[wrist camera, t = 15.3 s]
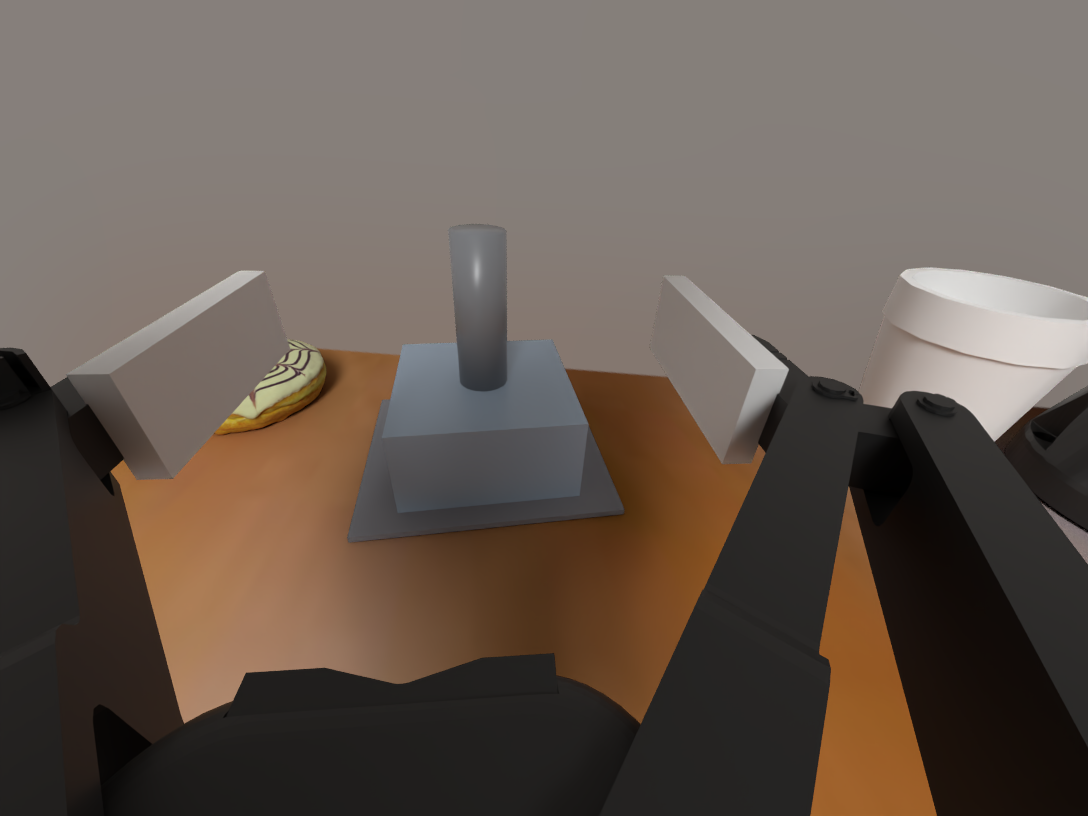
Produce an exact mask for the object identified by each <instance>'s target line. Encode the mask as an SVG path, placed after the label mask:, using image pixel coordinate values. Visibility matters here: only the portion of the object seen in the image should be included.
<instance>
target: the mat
mask: <svg viewBox="0 0 1088 816" xmlns="http://www.w3.org/2000/svg"><path fill="white" fill-rule="evenodd" d="M389 404H390V400H382V403H381V407H380V411H379V415H378V419H377V423H376V427H375V431H374V434H373V438H372V442H371V446H370V450H369V454H368V458H367V462H366V466H365V470H364V474H363V478H362V482H361V486H360V490H359V493H358V497H357V501H356V505H355V509H354V513H353V517H352V521H351V525H350V529H349V533H348V537H347V539H348V542H358V541H368V540H378V539H387V538H397V537H407V536H416V535H426V534H436V533H445V532H455V531H465V530H474V529H484V528H494V527H503V526H513V525H523V524H532V523H542V522H552V521H561V520H571V519H581V518H590V517H600V516H610V515H619V514H624V510H625V509H624V507H623V505H622V502H621V500H620V498H619V495H618V493H617V491H616V488H615V486H614V484H613V481H612V479H611V477H610V474H609V472H608V470H607V467H606V465H605V463H604V460H603V458H602V456H601V453H600V451H599V449H598V446H597V444H596V442H595V439H594V437H593V435H592V432H591V430H590V428H589V425H588V432H587V440H586V448H585V456H584V464H583V472H582V480H581V488H580V496H573V497H562V498H552V499H541V500H530V501H520V502H509V503H499V504H488V505H477V506H467V507H456V508H446V509H435V510H425V511H414V512H403V513H398V512H397V507H396V502H395V498H394V493H393V488H392V483H391V479H390V474H389V469H388V465H387V460H386V455H385V450H384V446H383V441H382V435H383V430H384V426H385V422H386V417H387V413H388V408H389Z"/></svg>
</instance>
